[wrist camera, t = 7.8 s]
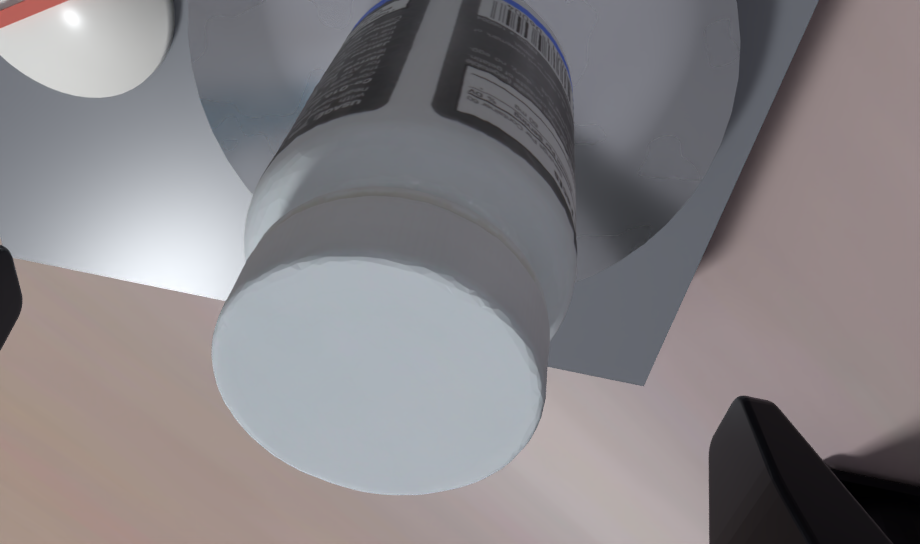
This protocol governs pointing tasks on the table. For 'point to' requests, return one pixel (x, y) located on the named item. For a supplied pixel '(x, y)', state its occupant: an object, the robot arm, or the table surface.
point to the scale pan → (593, 81)
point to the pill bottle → (410, 253)
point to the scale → (227, 198)
